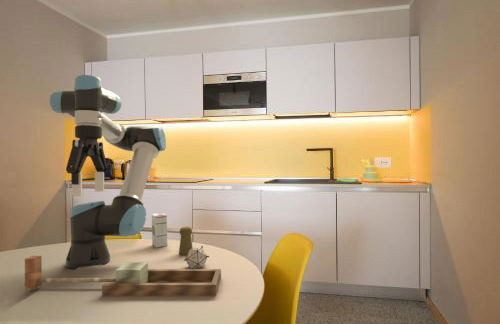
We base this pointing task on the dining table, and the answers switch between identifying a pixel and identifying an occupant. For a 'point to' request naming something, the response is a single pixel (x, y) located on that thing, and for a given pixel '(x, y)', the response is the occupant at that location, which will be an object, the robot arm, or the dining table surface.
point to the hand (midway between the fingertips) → (89, 193)
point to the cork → (185, 240)
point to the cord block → (124, 274)
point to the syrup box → (159, 229)
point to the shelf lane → (169, 284)
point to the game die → (196, 258)
